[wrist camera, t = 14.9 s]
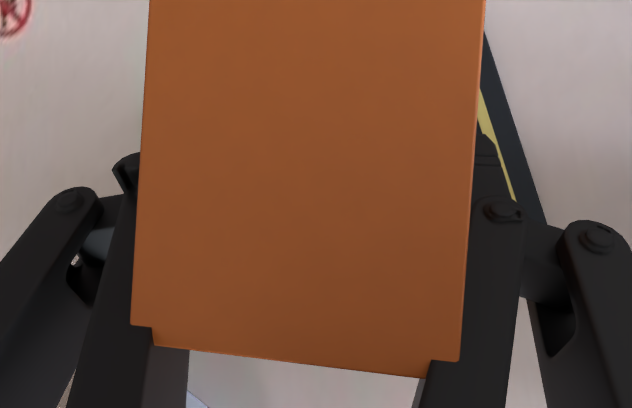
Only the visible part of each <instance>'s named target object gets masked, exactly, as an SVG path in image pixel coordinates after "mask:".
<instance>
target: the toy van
mask: <svg viewBox="0 0 632 408" xmlns="http://www.w3.org/2000/svg"><path fill="white" fill-rule="evenodd" d="M485 5H486V0H150V2H149V18H148V35H147V51H146V67H145V84H144V100H143V117H142V133H141V150H140V166H139V182H138V199H137V215H136V232H135V248H134V265H133V281H132V297H131V314H130V324H131V325H136V326H145V327H152V334H153V341H154V345H155V346H163V347H171V348H179V349H187V350H195V351H203V352H211V353H219V354H227V355H235V356H243V357H251V358H259V359H268V360H276V361H284V362H292V363H300V364H308V365H316V366H324V367H332V368H340V369H348V370H356V371H364V372H372V373H380V374H388V375H396V376H404V377H413V378H421V379H425V378H426V375H427V371H428V368H429V365H430V362H431V359H432V360H441V361H450V362H457V361H459V357H460V346H461V332H462V318H463V305H464V291H465V277H466V264H467V250H468V237H469V223H470V209H471V196H472V182H473V169H474V155H475V141H476V128H477V114H478V100H479V87H480V73H481V60H482V46H483V32H484V19H485Z"/></svg>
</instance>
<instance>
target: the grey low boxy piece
mask: <svg viewBox="0 0 632 408" xmlns="http://www.w3.org/2000/svg"><path fill="white" fill-rule="evenodd" d="M186 408H208V407H207V406H206V405H204V404H203V403H202V402H201V401H200V400H198V399H197V398H196V397H195V396H193V395H192V394H191V393H190V392H189V391H187V397H186Z"/></svg>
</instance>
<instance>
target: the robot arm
mask: <svg viewBox="0 0 632 408" xmlns="http://www.w3.org/2000/svg"><path fill="white" fill-rule="evenodd" d="M498 156H499V155H498V152H497V149H496V145H495V144H494V143H493V141H492V140H491V139H490V138H489V137H488V136H487V135H486V134H476V141H475V155H474V169H473V182H472V196H471V209H470V223H469V237H468V250H467V264H466V277H465V291H464V305H463V318H462V332H461V346H460V357H459V361H457V362H450V361H441V360H432V359H431V362H430V365H429V368H428V371H427V375H426V378H425V379H421V378H420V379H419V383H418V386H417V390H416V393H415V397H414V401H413V404H412V408H505V404H506V396H507V388H508V380H509V372H510V364H511V356H512V348H513V341H514V333H515V325H516V317H517V309H518V301H519V296H520V297H523V298H526V300H527V305H528V310H529V315H530V321H531V326H532V331H533V336H534V341H535V346H536V352H537V357H538V362H539V367H540V372H541V377H542V383H543V388H544V393H545V398H546V403H547V408H632V251H631V249H630V247H629V245H628V243H627V242H626V241H625V239H624V238H623V236H621V235H620V234H619V233H618V232H616V231H615V230H614V229H612V228H610V227H608V226H606V225H604V224H602V223H599V222H594V221H590V220H577V221H575V222H572V223H570V224H569V225H568V226H567V227H566V229H565V230H563V229H560V228H556V227H553V226H550V225H546V224H543V223H540V222H538V221H535V220H533V219H531V218H529V217H528V214H527V212H526V210H525V209H524V208H523V206H522V205H520V204H519V203H517V202H516V201H515V200H513V199H512V198H511V194H510V191H509V188H508V184H507V181H506V178H505V175H504V171H503V168H502V167H501V162H500V158H498ZM139 166H140V152H138V153H133V154H130V155H128V156H126V157H124V158H122V159H121V160H120V161H118V162H117V163H116V164H115V165H114V167H113V169H112V172H113V174H114V175H115V177H116V179H117V181H118V183H119V184H120V186H121V188H122V190H123V192H124V194H120V195H114V196H108V197H102V198H98V196H97V195H96V193H95V192H94V191H93V190H92V189H91V188H88V187H73V188H70V189H67V190H64V191H62V192H60V193H59V194H57V195H55V196H54V197H53V198H52V199H51V200H50V201H49V202H48V203H47V204H46V205H45V206H44V208H43V209H42V210H41V211H40V213H39V214H38V215H37V217H36V218H35V219H34V220H33V222H32V223H31V224H30V225H29V227H28V228H27V229H26V230H25V232H24V233H23V234H22V235H21V237H20V238H19V239H18V241H17V242H16V243H15V244H14V246H13V247H12V248H11V249H10V251H9V252H8V253H7V254H6V256H5V257H4V258H3V259H2V261H1V262H0V408H56V407H57V405H58V403H59V401H60V399H61V397H62V395H63V393H64V391H65V389H66V387H67V385H68V383H69V381H70V379H71V377H72V375H73V373H74V371H75V369H76V372H75V375H74V379H73V383H72V387H71V390H70V394H69V398H68V401H67V405H66V408H186V397H187V382H188V367H189V352H190V350H187V349H179V348H171V347H163V346H155V345H154V341H153V334H152V327H145V326H136V325H131V324H130V314H131V297H132V281H133V265H134V248H135V232H136V215H137V199H138V182H139ZM76 254H77V255H78V257H79V259H78V261H77V262H76V263H75V265H74V266H73V265H72V264H71V262H72V260H73V259H74V257H75V256H76ZM76 367H77V368H76Z"/></svg>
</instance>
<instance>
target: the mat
mask: <svg viewBox="0 0 632 408" xmlns="http://www.w3.org/2000/svg"><path fill="white" fill-rule="evenodd" d="M476 134H486V135H487V136H488V137H489V138H490V139H491V140H492V141H493V143H494V144H495V145H496V149H497V152H498V155H499V156H498V158H500V162H501V167H502V168H503V171H504V175H505V178H506V181H507V184H508V188H509V191H510V194H511V198H512V199H513V200H515V201H516V202H517V203H519V204H520V205H522V206H523V208H524V209H525V210H526V212H527V214H528V217H529V218H531V219H533V220H535V221H538V222H540V223H543V224H546V225H547V222H546V219H545V216H544V213H543V210H542V207H541V204H540V201H539V198H538V194H537V191H536V188H535V185H534V182H533V179H532V176H531V173H530V170H529V167H528V164H527V161H526V158H525V155H524V152H523V148H522V145H521V142H520V139H519V136H518V133H517V130H516V127H515V124H514V121H513V118H512V115H511V112H510V109H509V105H508V102H507V99H506V96H505V93H504V90H503V87H502V84H501V81H500V78H499V75H498V72H497V69H496V66H495V62H494V59H493V56H492V53H491V50H490V47H489V44H488V41H487V38H486V35H485V32H483V46H482V60H481V73H480V87H479V100H478V114H477V128H476Z"/></svg>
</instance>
